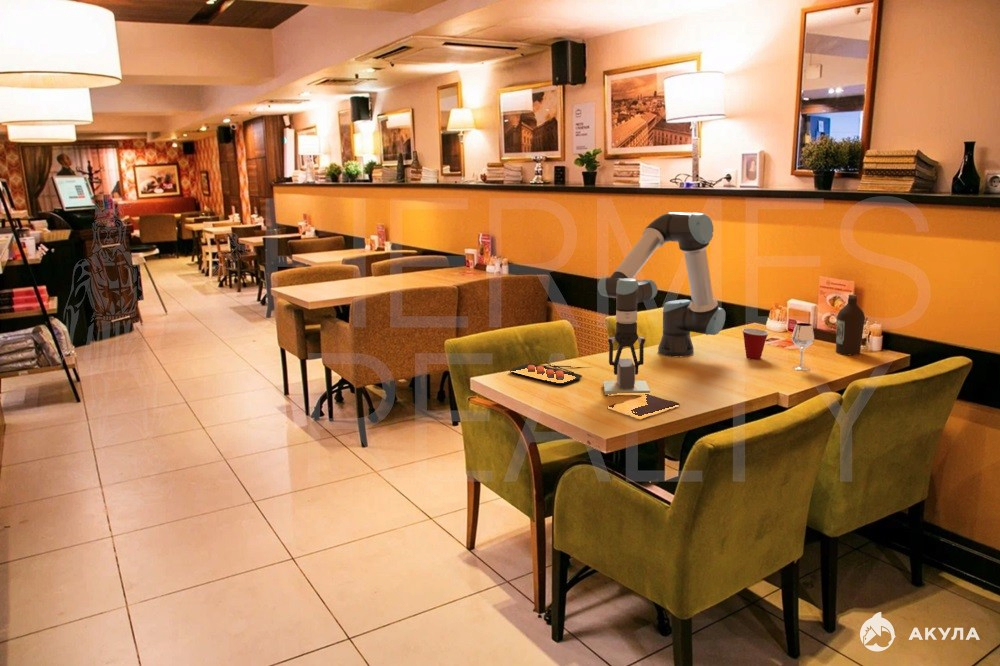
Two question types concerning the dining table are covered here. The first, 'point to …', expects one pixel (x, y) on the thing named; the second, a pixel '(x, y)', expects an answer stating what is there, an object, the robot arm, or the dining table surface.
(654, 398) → the notebook
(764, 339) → the plastic cup
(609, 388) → the board
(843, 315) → the olive oil
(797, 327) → the wineglass
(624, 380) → the block
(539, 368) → the sushi plate
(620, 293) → the robot arm
